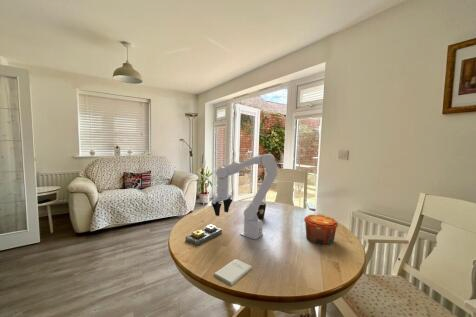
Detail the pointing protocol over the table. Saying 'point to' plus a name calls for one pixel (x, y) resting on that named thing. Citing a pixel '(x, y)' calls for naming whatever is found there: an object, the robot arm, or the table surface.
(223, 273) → the external hard drive
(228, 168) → the robot arm
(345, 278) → the table surface
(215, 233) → the grey rectangular slotted frame
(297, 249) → the table surface
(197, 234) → the tan wooden cube
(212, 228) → the cube with domed knob
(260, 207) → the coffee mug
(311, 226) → the food container
